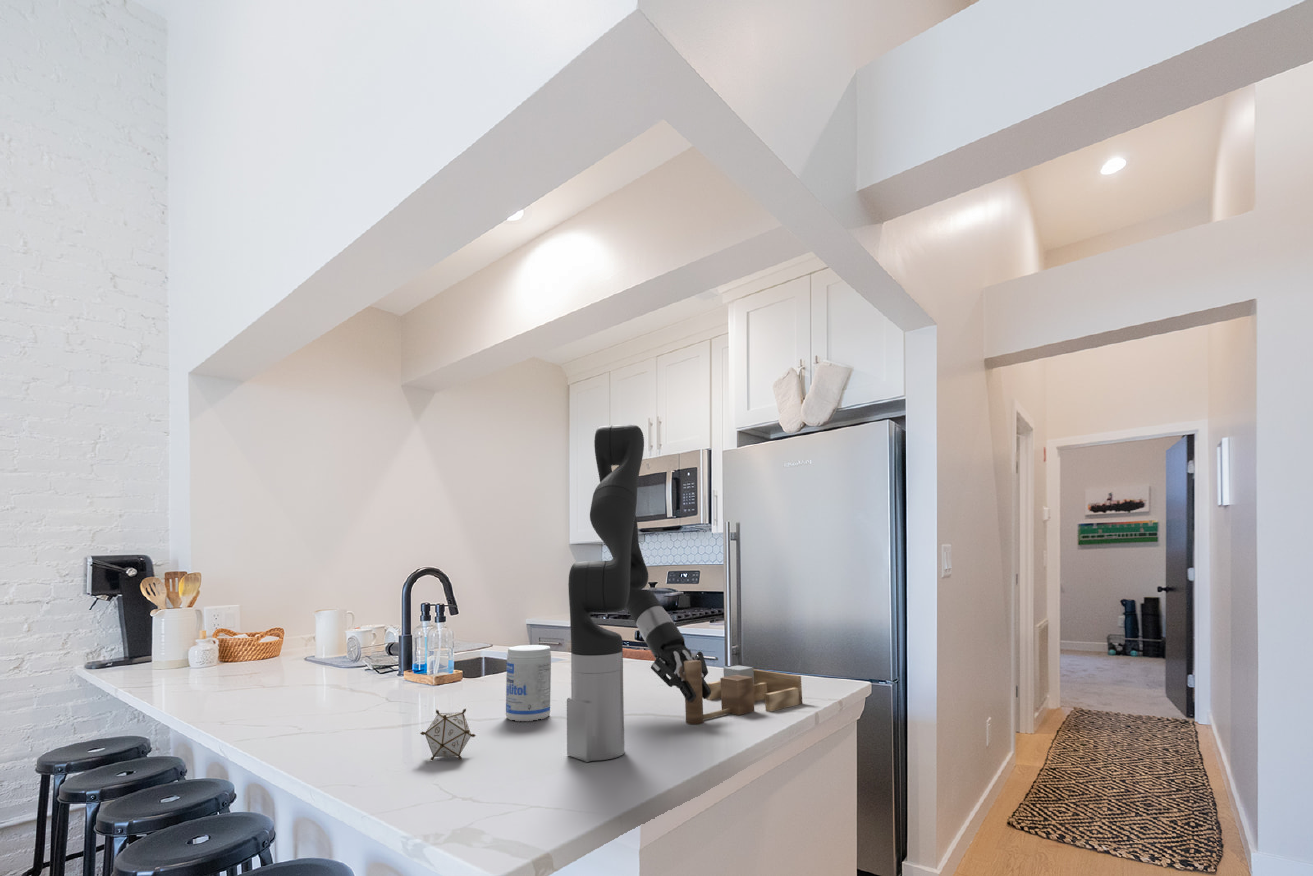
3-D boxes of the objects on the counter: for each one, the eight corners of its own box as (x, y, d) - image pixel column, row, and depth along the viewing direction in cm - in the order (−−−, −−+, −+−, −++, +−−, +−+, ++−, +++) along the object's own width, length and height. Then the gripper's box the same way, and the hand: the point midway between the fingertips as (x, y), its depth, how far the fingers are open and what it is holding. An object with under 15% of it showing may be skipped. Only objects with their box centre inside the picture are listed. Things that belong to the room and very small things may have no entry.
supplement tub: (497, 721, 150) (497, 649, 152) (520, 711, 158) (520, 644, 161) (537, 724, 146) (537, 650, 149) (558, 713, 155) (558, 644, 157)
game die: (456, 778, 124) (490, 725, 128) (445, 773, 117) (481, 717, 121) (416, 750, 126) (451, 699, 130) (402, 744, 119) (440, 690, 123)
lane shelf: (769, 711, 152) (768, 682, 153) (706, 699, 166) (705, 672, 167) (802, 703, 159) (800, 675, 160) (738, 692, 173) (737, 666, 174)
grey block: (740, 701, 163) (738, 670, 164) (724, 698, 166) (723, 668, 168) (754, 698, 166) (753, 667, 167) (739, 695, 170) (737, 665, 171)
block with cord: (696, 725, 141) (694, 663, 143) (679, 721, 145) (678, 661, 147) (754, 711, 152) (751, 653, 154) (737, 707, 156) (735, 651, 158)
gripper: (642, 623, 148) (683, 691, 137) (691, 618, 157) (733, 681, 146) (627, 647, 151) (666, 715, 140) (676, 640, 161) (716, 704, 150)
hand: (700, 697), depth 143 cm, fingers closed on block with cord, 3 cm apart
